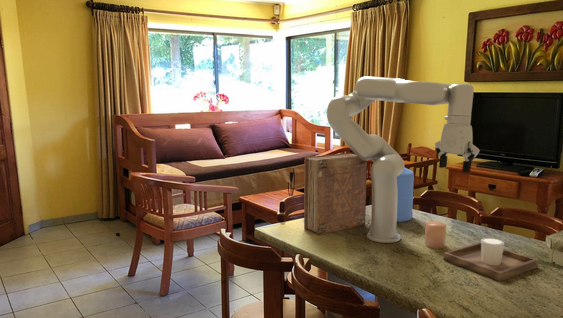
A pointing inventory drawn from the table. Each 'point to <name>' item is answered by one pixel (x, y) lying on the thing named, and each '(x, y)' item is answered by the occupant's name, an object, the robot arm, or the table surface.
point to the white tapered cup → (491, 251)
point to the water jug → (405, 195)
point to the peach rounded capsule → (435, 235)
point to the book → (334, 192)
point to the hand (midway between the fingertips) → (454, 169)
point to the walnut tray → (508, 267)
